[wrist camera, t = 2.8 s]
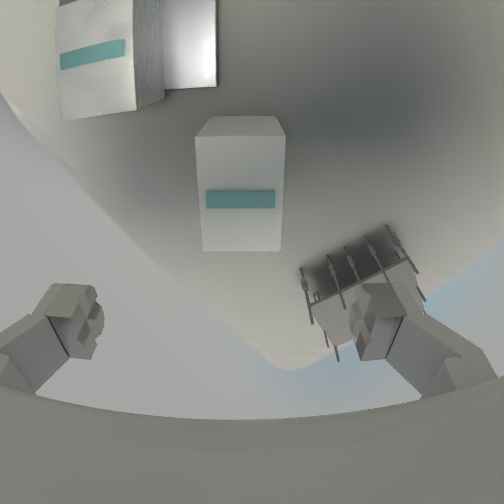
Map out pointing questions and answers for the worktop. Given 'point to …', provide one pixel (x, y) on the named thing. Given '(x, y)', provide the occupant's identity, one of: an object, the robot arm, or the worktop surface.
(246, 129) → the block
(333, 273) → the building frame
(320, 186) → the worktop surface
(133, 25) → the rail plate
